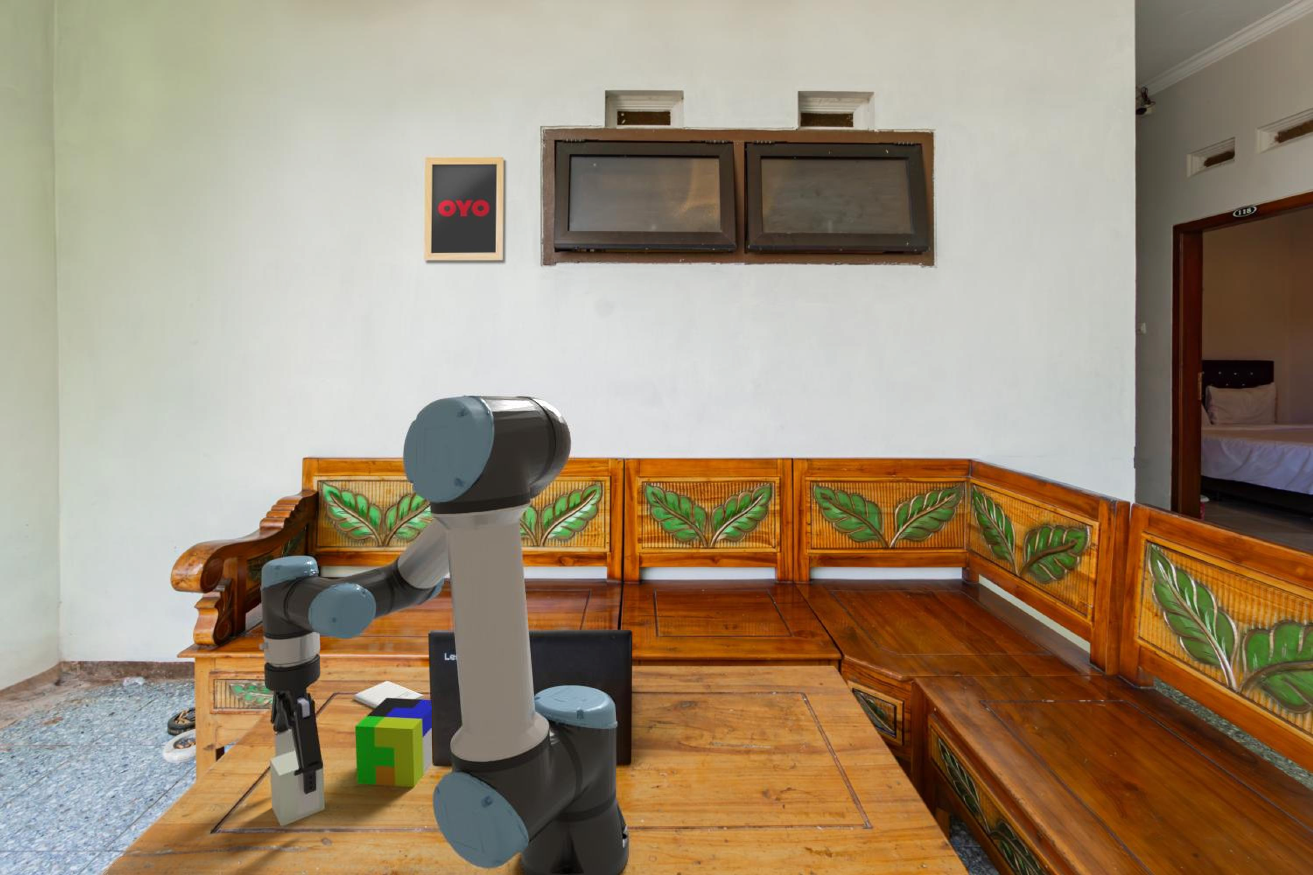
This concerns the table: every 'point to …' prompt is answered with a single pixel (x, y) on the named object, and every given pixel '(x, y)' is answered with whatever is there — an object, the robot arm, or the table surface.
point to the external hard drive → (385, 694)
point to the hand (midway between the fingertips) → (296, 789)
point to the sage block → (289, 789)
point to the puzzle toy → (395, 743)
